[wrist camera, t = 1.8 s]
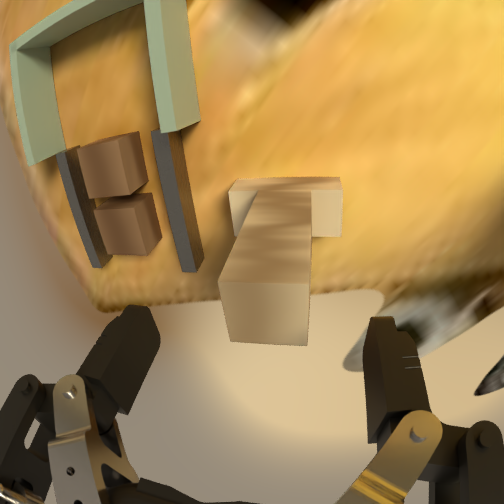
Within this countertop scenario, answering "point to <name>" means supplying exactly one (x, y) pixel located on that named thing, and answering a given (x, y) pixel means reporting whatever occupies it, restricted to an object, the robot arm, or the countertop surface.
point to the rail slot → (173, 190)
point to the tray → (74, 19)
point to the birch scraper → (275, 255)
